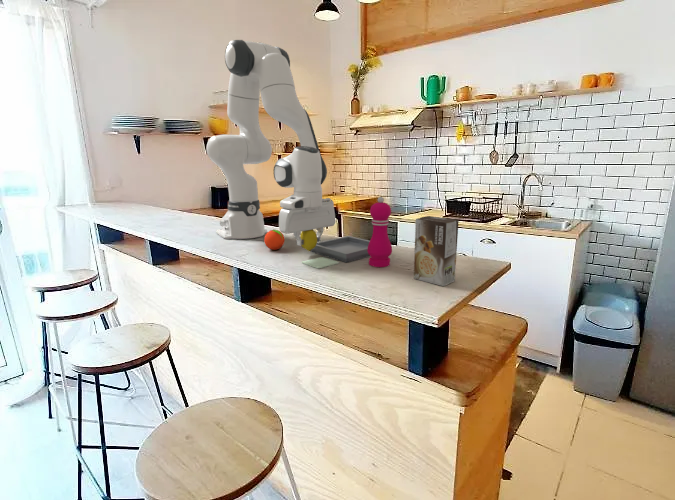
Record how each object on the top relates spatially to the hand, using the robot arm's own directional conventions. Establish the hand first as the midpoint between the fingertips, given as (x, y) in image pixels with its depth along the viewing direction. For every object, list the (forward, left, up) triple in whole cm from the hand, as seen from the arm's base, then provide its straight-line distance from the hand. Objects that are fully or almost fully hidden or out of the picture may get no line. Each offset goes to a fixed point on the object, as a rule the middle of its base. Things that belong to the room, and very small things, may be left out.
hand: (309, 243), depth 121 cm
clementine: (-14, -4, -4) cm, 15 cm away
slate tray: (+5, +12, -4) cm, 14 cm away
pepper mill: (+22, +9, -4) cm, 24 cm away
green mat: (+9, -3, -4) cm, 11 cm away
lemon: (0, 0, -3) cm, 3 cm away
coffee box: (+41, +9, -4) cm, 43 cm away
